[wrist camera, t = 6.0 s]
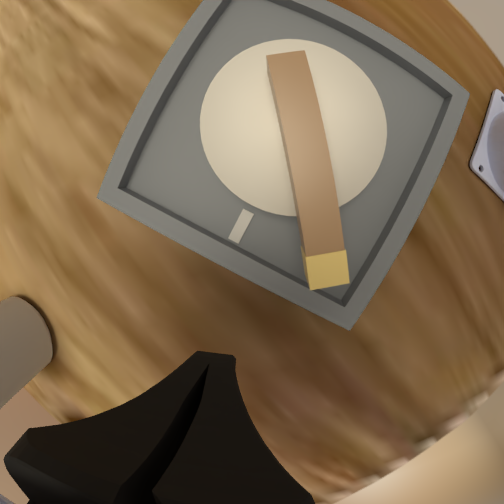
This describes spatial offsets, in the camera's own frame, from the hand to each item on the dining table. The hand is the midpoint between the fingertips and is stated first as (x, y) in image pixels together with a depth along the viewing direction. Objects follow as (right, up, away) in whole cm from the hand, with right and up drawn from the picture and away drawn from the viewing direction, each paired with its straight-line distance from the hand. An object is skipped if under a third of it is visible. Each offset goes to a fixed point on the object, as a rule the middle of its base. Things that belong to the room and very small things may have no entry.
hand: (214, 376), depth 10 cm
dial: (+4, +10, +7) cm, 13 cm away
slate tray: (+4, +12, +8) cm, 15 cm away
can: (-20, -3, +13) cm, 24 cm away
